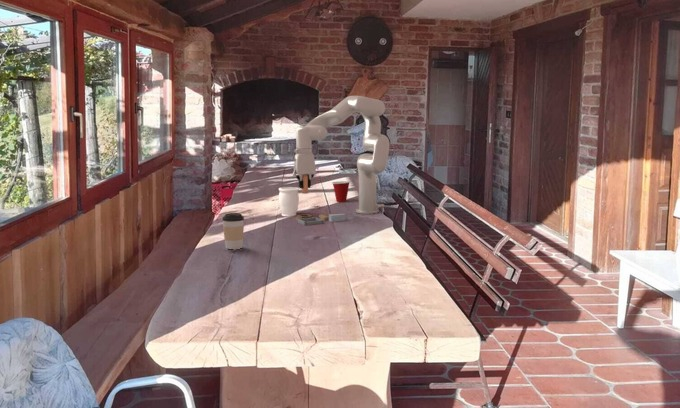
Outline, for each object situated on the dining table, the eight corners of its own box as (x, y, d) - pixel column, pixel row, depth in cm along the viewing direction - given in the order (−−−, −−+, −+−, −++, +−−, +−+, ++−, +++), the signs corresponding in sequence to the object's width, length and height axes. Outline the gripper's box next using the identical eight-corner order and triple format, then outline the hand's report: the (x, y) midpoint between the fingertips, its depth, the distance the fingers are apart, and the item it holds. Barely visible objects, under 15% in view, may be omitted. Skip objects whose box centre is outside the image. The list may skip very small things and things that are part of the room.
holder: (308, 219, 347) (308, 213, 347) (315, 221, 340) (315, 216, 340) (294, 220, 344) (294, 214, 343) (300, 223, 337) (300, 217, 336)
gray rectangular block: (342, 221, 342) (342, 213, 341) (345, 222, 339) (345, 214, 338) (328, 222, 338) (328, 214, 337) (331, 223, 335) (331, 215, 335)
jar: (296, 218, 348) (295, 189, 346) (276, 218, 351) (276, 189, 348) (301, 214, 359) (300, 186, 356) (282, 214, 361) (282, 186, 358)
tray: (315, 222, 340) (315, 217, 339) (323, 225, 332) (323, 220, 331) (297, 223, 335) (297, 219, 335) (304, 227, 327) (304, 222, 327)
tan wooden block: (333, 219, 349) (333, 213, 348) (339, 222, 341) (339, 216, 341) (319, 220, 346) (319, 214, 345) (324, 223, 339) (324, 217, 338)
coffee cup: (224, 246, 290) (223, 211, 287) (245, 245, 291) (244, 211, 288) (222, 251, 281) (221, 215, 278) (244, 250, 282) (243, 215, 279)
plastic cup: (338, 199, 407) (338, 179, 405) (353, 201, 401) (353, 181, 399) (328, 201, 398) (328, 181, 396) (343, 203, 392) (343, 183, 390)
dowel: (306, 192, 342) (306, 172, 340) (309, 193, 339) (308, 173, 337) (300, 192, 340) (300, 173, 339) (303, 193, 338) (302, 173, 336)
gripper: (291, 153, 329) (292, 190, 332) (322, 151, 336) (322, 187, 340) (285, 151, 335) (286, 188, 339) (315, 149, 343) (316, 185, 346)
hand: (304, 187), depth 339 cm, fingers closed on dowel, 3 cm apart
